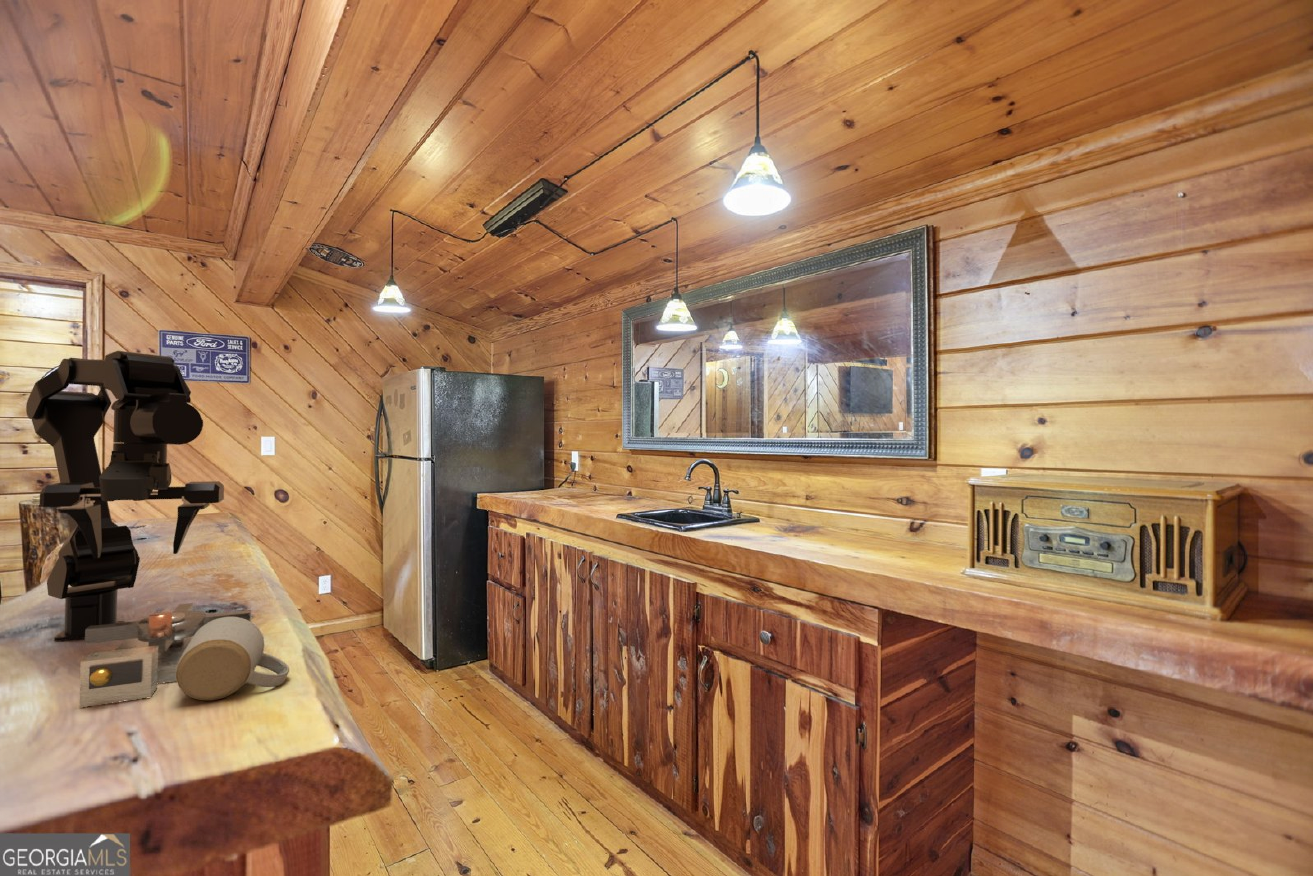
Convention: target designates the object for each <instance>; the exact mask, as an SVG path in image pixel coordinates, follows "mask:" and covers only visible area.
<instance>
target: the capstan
mask: <svg viewBox="0 0 1313 876" xmlns="http://www.w3.org/2000/svg"><path fill="white" fill-rule="evenodd" d="M223 617H239V618H243V619H246V620H248V621H250V622H252V618H251V617H252V609H250V610H249V609H248V610H237V611H228V612H220V613H218V612H216V613H206V612H204V611H200V610H199V611H197V610H194V603H193V602H190V603H180V604H178V605H177V606H176V607H175V609H174V610H173V611H172V612H171V611H160V612H154V613H151V614H149V615H148V617H145V618H143V619H141V620H137V621H128V622H127V621H125V622H124V623H114V624H104V625H94V626H89V627H88V628H86V629H85V638H84V644H85V645H86V644H87V645H88V644H96V643H106V642H117V641H124V640H125V639H135V638H138V640H139V641H142V642H149V645H148V647H149V646H158V653H159V652H165V651H166V650H167V649H168V648H169V646H170V645H171V644H172V642H173V641H174V640H179V639H184V638H188V637H192V636H194V635H195V633H196V632H197V631H198V630H199V629H200V628H201V627H202V626H204V625H205V624H207V623H208V622H211V621H213V620H215V619H218V618H223Z"/></svg>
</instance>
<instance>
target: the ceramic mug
mask: <svg viewBox="0 0 1313 876" xmlns="http://www.w3.org/2000/svg"><path fill="white" fill-rule="evenodd" d="M264 649H265V638H264V635H263V633H262V632H261V630H260V628H259V627H258V626H257V625H256V624H255V623H253V622H252V621H251V622H250V621H248V620H246V619H243V618H239V617H223V618H218V619H215V620H213V621H211V622H208V623H207V624H205V625H204V626H202V627H201V628H200V629H199V630H198V631H197V632H196V633H195V635H194V636H193V638H192V639H191V641H190V643H189V644H188V646H187V648H186V649H185V651H184V652H183V654H182V656H181V658H180V660H179V662H178V665H177V670H176V679H177V681H176V682H177V685H178V687H179V688H180V690H181V691H182V692H183V693H184V694H185V695H187V696H188V697H190V698H191V699H195V700H198V701H199V700H200V701H216V700H217V701H218V700H220V699H221V700H222V699H224V698H226V697H229V696H230V695H232V694H234V693H236V692H237V691H238V690H239V689H241V688H242V687H243V686H244V685H245V684H247V685H248V684H249V685H251V686H255V687H262V688H275V687H278V686H281V685H282V684H284V682H285V681H286V678H287V676H288V675H289V673H290V667H289V665H288V664H287V663H286V662H285V661H283V660H281V659H280V658H278V657H276V656H274V655H271V654H270V653H266V652H264ZM257 666H259V667H261V668H264V669H267V670H269V671H271V672H273V673H274V674H271V673H265V672H261V671H257V670H255V669H256V667H257ZM280 684H281V685H280Z"/></svg>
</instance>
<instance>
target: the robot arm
mask: <svg viewBox="0 0 1313 876" xmlns="http://www.w3.org/2000/svg"><path fill="white" fill-rule="evenodd" d="M175 363H176V360H174V358H173V357H171V356H166V355H159V354H149V353H140V352H133V351H124V350H115V351H113V352H110V353H108V354H106V355H105V356H104V359H93V358H92V359H87V358H80V357H79V358H77V357H68V358H63V359H62V360H61V361H60V363H59V366H58V368H57V369H56V370H54V371H52V372H51V373H49V374H47V375H46V376H44V377H42V378H41V379H38V380H37V381H36V382H35V383H34V384H33V388H32V389H31V391H30V394H29V396H28V398H27V400H26V408H25V411H26V416H27V418H28V419H29V420H31V423H32V426H33V429H34V432H35V434H36V435H37V436H38V437H40V439H42V440H43V441H45V442H46V443H47V444H49V445H50V446H51V447H52V448H53V452H54V457H55V463H56V467H57V473H58V477H59V478H58V479H59V482H57V483H51V484H47V485H45V486H43V488H42V489H41V491H40V492H39V505H38V507H40V508H58V509H57V512H58V514H66V519H67V523H68V529H69V534H68V536H66V537H67V538H66V539H65V540H64V542H63V544H62V546H61V547H60V548H59V550H58V558H57V560H56V562H55V564H54V566H53V567H52V570H51V571H50V574H49V576H48V578H47V580H46V588H47V595H48V596H49V597H53V598H55V599H58V600H64V601H65V602H64V628H63V629H64V630H62V631H61V632H60V633H58V634H57V635H55V636H54V637H53V641H55V642H57V641H67V640H69V641H70V640H77V639H85V629H86V628H88V627H89V626H94V625H104V624H114V623H124V622H126V620H119V621H118V619H117V618H118V593H119V592H118V590H122V589H133V588H134V587H135V583H136V579H137V574H138V570H139V564H140V559H141V558H140V556H139V553H138V551H137V549H136V547H135V545H134V543H133V540H132V531H131V529H130V528H129V526H127V525H120V526H119V525H118V524H117V523H115V522H114V521H112V515H111V511H110V507H109V502H115V501H134V502H141V501H145V500H147V501H148V500H151V501H152V500H181V502H183V504H180V505H178V506H177V519H176V525H175V532H174V537H173V544H172V548H173V552H172V553H173V555H176V554H178V553H179V551H180V550H181V548H182V545H183V543H184V540H185V538H186V535H187V534H188V531H189V529H190V527H191V525H192V522H193V521H194V520H195V518H196V517H197V515H198V513H199V512H200V510H205V509H207V508H208V507H210V505H211V504H218V503H220V502H222V501H223V500H225V487H224V484H223V483H222V482H221V481H190V482H187V483H185V485H184V486H170V485H171V484H172V470H171V469H172V468H171V466H170V462H168V461H167V459H168V445H173V446H175V445H176V446H177V445H178V446H180V445H181V446H182V445H186V444H189V443H192V442H193V441H194V440H196V439H197V438H198V437H199V436H200V434H201V433H202V431H203V427H204V419H203V418H202V415H201V413H200V412H199V411H198V409H196V407H195V406H193V405H191V404H190V403H191V401H192V399H191V393H192V391H191V390H190V388H189V386H188V384H187V382H186V381H185V378H184V377H183V374H182V371H181V369H180V367H179V366H178V365H176V364H175ZM69 385H78V386H80V385H81V386H92V387H95V386H96V387H99V391H98V393H97V394H95V393H94V392H86V391H85V392H84V391H83V392H82V391H80V392H79V391H70V390H69V391H67V390H66V389H67V388H68V387H69ZM108 391H110V392H111V394H112V395H113V397H114V398H115V399H116V400H115V401H114V402H112V400H111V398H110V394H109V393H108ZM110 407H111V408H110ZM109 409H111V411H112V410H113V436H112V439H113V440H112V442H113V444H112V450H111V455H110V461H109V463H108V466H106V468H105V469H104V470H103V471H102V469H101V466H100V465H101V464H100V460H99V456H98V451H97V446H96V442H95V436H96V435H97V433H98V432H99V430H100V429H101V427H102V426H103V425H104V422H105V417H106V415H107V413H108V410H109ZM69 586H70V587H69Z"/></svg>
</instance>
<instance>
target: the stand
mask: <svg viewBox="0 0 1313 876" xmlns="http://www.w3.org/2000/svg"><path fill="white" fill-rule="evenodd" d="M192 638H193V636H192V637H188V638H184V639H179V640H174V641H173V642H172V644H171V645H170V646H169V648H168V649H167V650H166V651H165V652H159V653H158V646H149V647H148V645H149V642H142V641H139V640H138V638H135V639H125V640H122V642H121V643H120V644H119V645H118V646H117V648H116V647H115V649H114V650H108V651H98V652H97V651H96V652H90V653H88V655H87V656H85V657H84V658H83V659H82V660H81V661H80V673H79V678H80V679H79V680H80V681H79V707H78V708H79V709H83V707H85V708H88V707H87V706H92V707H96V706H95V705H99V706H102V705H101V704H105V705H107V704H106V703H112V702H113V703H112V704H115V703H114V702H119V701H124V700H133V701H137V700H136V699H139V700H143V699H142V698H146V699H148V698H147V697H151V696H153V695H154V694H153V693H155V692H156V691H157V689H158V684H157V683H161V684H164V683H163V682H169V683H174V682H177V679H176V670H177V665H178V662H179V660H180V658H181V656H182V654H183V652H184V651H185V649H186V648H187V646H188V644H189V643H190V641H191V639H192ZM156 688H157V689H156ZM155 690H156V691H155ZM154 691H155V692H154ZM152 694H153V695H152ZM151 698H152V697H151ZM119 703H120V702H119ZM93 705H94V706H93Z"/></svg>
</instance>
